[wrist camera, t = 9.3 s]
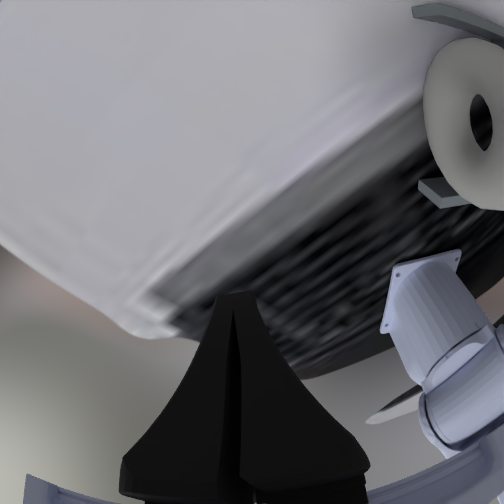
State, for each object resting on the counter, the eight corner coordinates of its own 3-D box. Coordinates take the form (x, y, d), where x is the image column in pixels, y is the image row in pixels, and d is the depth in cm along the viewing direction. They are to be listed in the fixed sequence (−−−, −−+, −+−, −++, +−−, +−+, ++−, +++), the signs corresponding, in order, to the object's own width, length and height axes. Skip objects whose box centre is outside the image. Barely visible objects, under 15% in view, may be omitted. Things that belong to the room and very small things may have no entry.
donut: (405, 32, 12) (530, 40, 4) (444, 39, 12) (562, 60, 4) (411, 170, 18) (504, 253, 10) (445, 167, 18) (536, 241, 10)
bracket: (492, 180, 18) (513, 196, 16) (417, 189, 19) (440, 208, 16) (496, 33, 10) (522, 37, 8) (411, 7, 11) (439, 3, 8)
